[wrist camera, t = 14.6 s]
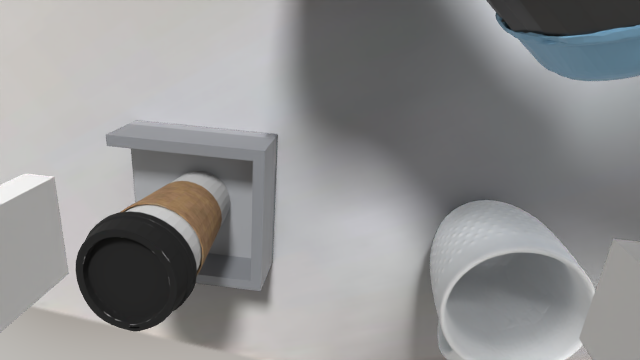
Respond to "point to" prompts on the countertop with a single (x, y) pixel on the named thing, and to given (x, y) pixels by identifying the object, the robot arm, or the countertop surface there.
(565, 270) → the mug
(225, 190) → the coffee cup
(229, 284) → the dock
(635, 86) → the countertop surface
